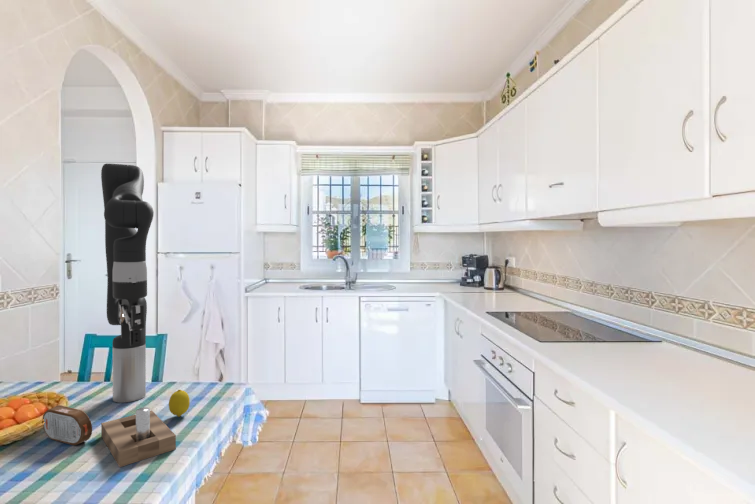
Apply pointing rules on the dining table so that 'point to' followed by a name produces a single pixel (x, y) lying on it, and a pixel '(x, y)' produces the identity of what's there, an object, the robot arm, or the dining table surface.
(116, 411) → the dining table surface
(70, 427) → the tin
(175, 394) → the lemon
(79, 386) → the dining table surface
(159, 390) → the dining table surface
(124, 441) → the hole block
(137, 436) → the peg
